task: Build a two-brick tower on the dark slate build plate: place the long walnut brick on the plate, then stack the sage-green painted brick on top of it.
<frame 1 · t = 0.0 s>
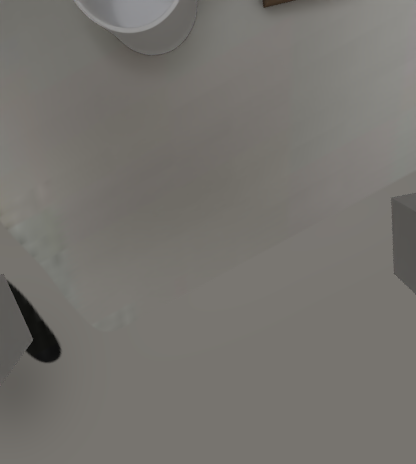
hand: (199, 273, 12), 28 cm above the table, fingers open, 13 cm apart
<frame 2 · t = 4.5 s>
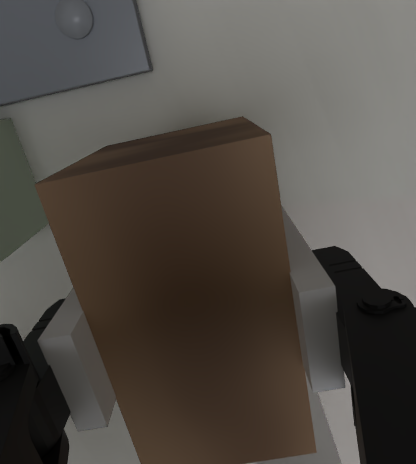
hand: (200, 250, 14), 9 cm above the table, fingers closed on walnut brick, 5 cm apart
mug: (248, 352, 27), on the table
walnut brick: (200, 245, 15), point 9 cm above the table, touching gripper
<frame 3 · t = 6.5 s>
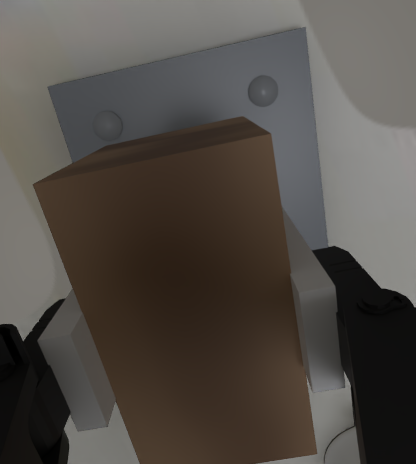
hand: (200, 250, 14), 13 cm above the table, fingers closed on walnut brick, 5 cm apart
mug: (365, 441, 35), on the table
build plate: (201, 181, 26), on the table
walnut brick: (200, 245, 15), point 12 cm above the table, touching gripper
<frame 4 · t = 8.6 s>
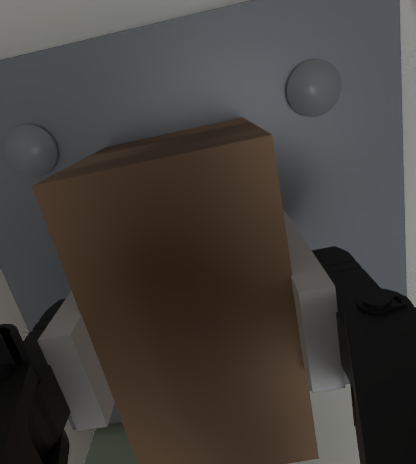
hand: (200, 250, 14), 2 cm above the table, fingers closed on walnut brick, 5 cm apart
build plate: (200, 238, 16), on the table
walnut brick: (200, 247, 15), point 1 cm above the table, touching build plate, gripper
sage brick: (175, 450, 20), on the table
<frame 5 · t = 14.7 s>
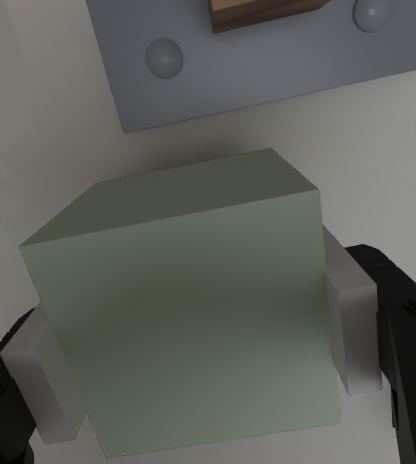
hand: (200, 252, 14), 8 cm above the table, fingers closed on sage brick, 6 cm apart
sage brick: (200, 246, 15), point 8 cm above the table, touching gripper
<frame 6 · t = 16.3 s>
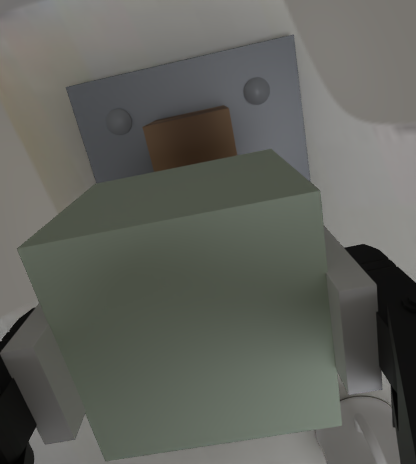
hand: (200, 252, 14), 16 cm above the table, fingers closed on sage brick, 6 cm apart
mug: (353, 414, 38), on the table
build plate: (202, 171, 29), on the table
walnut brick: (202, 173, 28), point 1 cm above the table, touching build plate
sage brick: (200, 247, 14), point 16 cm above the table, touching gripper
when the fingers open (7 cm above the table, at t = 18.1 s): sage brick stays where it is, resting on walnut brick.
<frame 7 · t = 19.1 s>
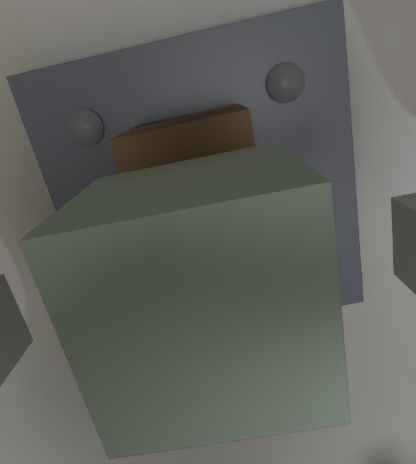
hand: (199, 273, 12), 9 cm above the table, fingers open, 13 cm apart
build plate: (204, 195, 21), on the table
walnut brick: (205, 200, 20), point 1 cm above the table, touching build plate, sage brick
sage brick: (204, 243, 14), point 7 cm above the table, touching walnut brick
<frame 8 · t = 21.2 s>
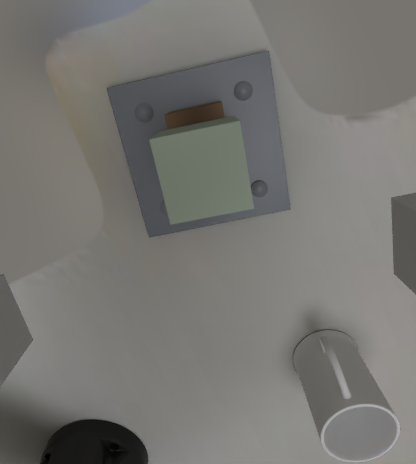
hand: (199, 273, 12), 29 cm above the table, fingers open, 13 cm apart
mug: (322, 345, 49), on the table
build plate: (203, 150, 39), on the table
walnut brick: (204, 151, 38), point 1 cm above the table, touching build plate, sage brick
sage brick: (203, 161, 33), point 7 cm above the table, touching walnut brick
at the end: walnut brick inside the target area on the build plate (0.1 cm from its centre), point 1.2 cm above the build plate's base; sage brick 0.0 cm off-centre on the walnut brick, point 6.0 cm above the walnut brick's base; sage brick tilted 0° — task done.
